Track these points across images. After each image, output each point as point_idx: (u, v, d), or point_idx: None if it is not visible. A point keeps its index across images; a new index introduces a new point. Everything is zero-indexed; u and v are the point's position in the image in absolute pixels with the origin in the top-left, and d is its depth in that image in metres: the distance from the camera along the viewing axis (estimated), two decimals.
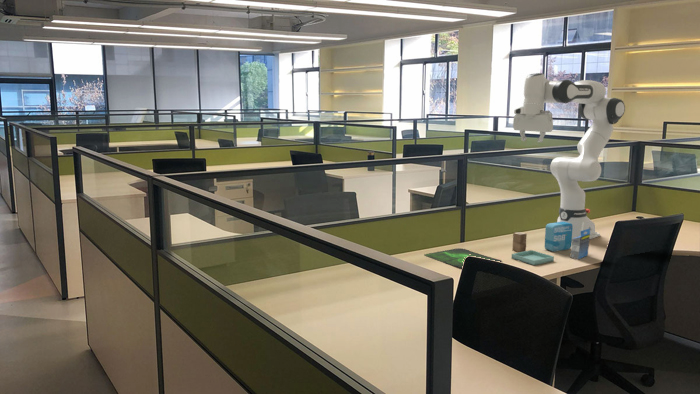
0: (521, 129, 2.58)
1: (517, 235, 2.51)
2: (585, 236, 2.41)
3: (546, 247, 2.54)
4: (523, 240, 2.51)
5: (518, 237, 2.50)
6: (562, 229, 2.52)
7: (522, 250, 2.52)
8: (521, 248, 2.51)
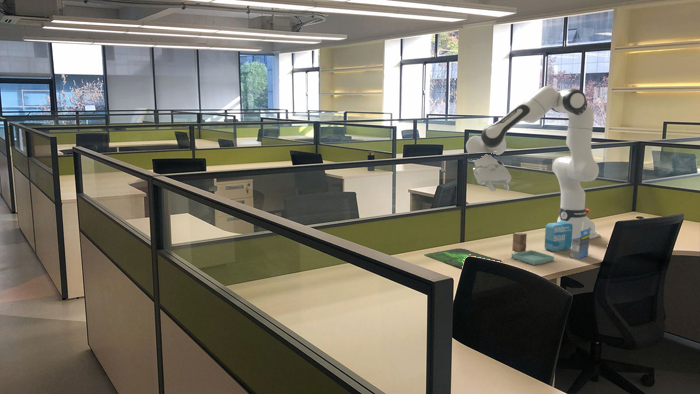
0: None
1: (517, 235, 2.51)
2: (585, 236, 2.41)
3: (546, 247, 2.54)
4: (523, 240, 2.51)
5: (518, 237, 2.50)
6: (562, 229, 2.52)
7: (522, 250, 2.52)
8: (521, 248, 2.51)
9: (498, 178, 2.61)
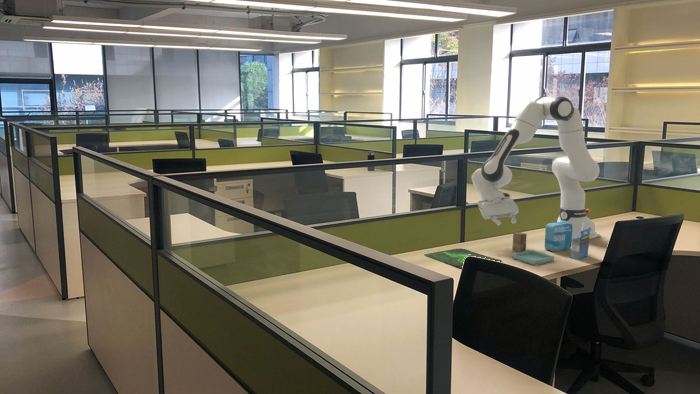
0: None
1: (517, 235, 2.51)
2: (585, 236, 2.41)
3: (546, 247, 2.54)
4: (523, 240, 2.51)
5: (518, 237, 2.50)
6: (562, 229, 2.52)
7: (522, 250, 2.52)
8: (521, 248, 2.51)
9: (504, 211, 2.60)
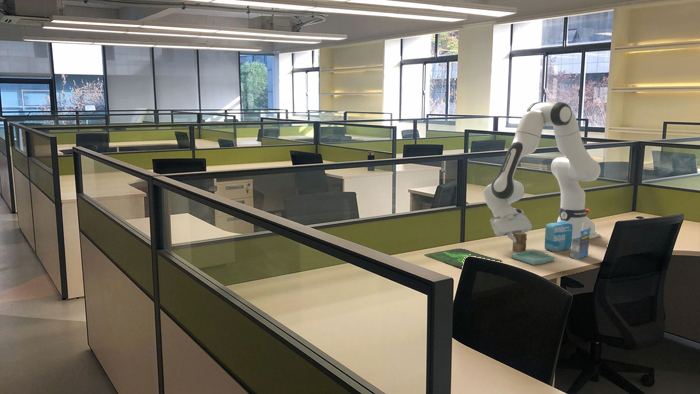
0: None
1: (517, 235, 2.51)
2: (585, 236, 2.41)
3: (546, 247, 2.54)
4: (523, 240, 2.51)
5: (518, 237, 2.50)
6: (562, 229, 2.52)
7: (522, 250, 2.52)
8: (521, 248, 2.51)
9: (517, 228, 2.54)
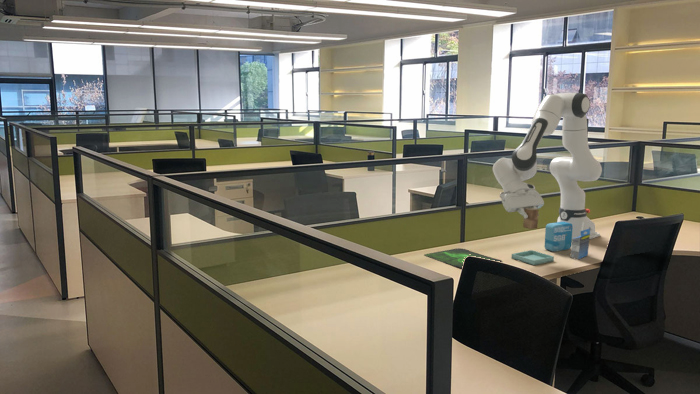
0: None
1: (528, 211, 2.37)
2: (585, 236, 2.41)
3: (546, 247, 2.54)
4: (535, 216, 2.37)
5: (529, 213, 2.37)
6: (562, 229, 2.52)
7: (533, 227, 2.38)
8: (532, 224, 2.37)
9: (528, 204, 2.40)
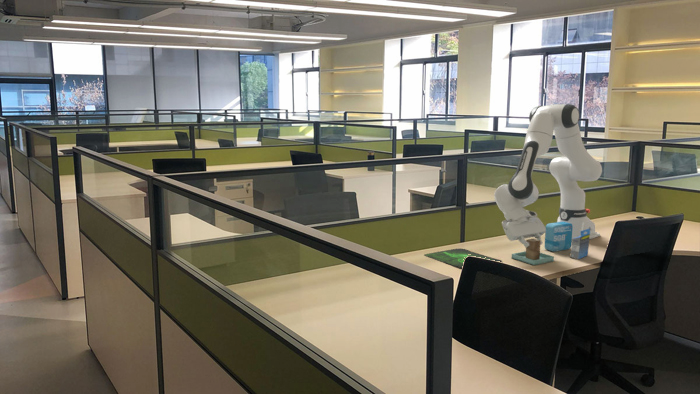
0: None
1: (531, 242, 2.37)
2: (585, 236, 2.41)
3: (546, 247, 2.54)
4: (537, 247, 2.37)
5: (532, 244, 2.36)
6: (562, 229, 2.52)
7: (536, 258, 2.38)
8: (534, 255, 2.37)
9: (531, 232, 2.39)
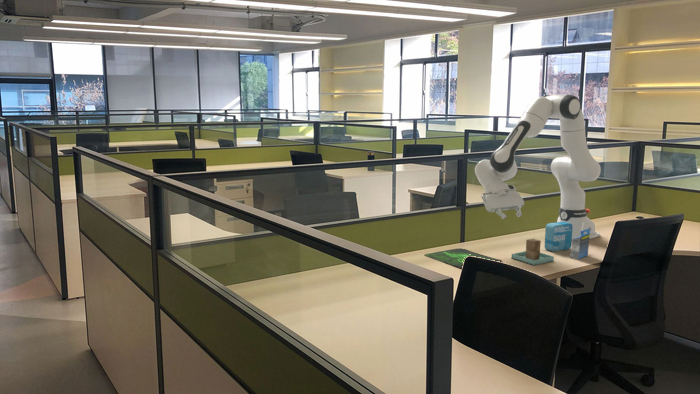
0: None
1: (531, 242, 2.37)
2: (585, 236, 2.41)
3: (546, 247, 2.54)
4: (537, 247, 2.37)
5: (532, 244, 2.36)
6: (562, 229, 2.52)
7: (536, 258, 2.38)
8: (534, 255, 2.37)
9: (509, 204, 2.49)
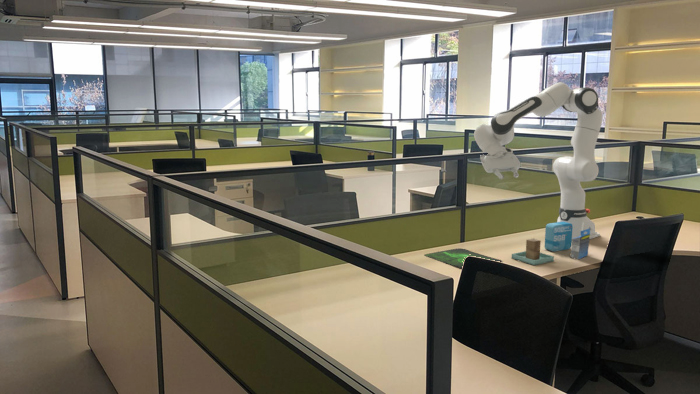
0: None
1: (531, 242, 2.37)
2: (585, 236, 2.41)
3: (546, 247, 2.54)
4: (537, 247, 2.37)
5: (532, 244, 2.36)
6: (562, 229, 2.52)
7: (536, 258, 2.38)
8: (534, 255, 2.37)
9: (506, 165, 2.61)
